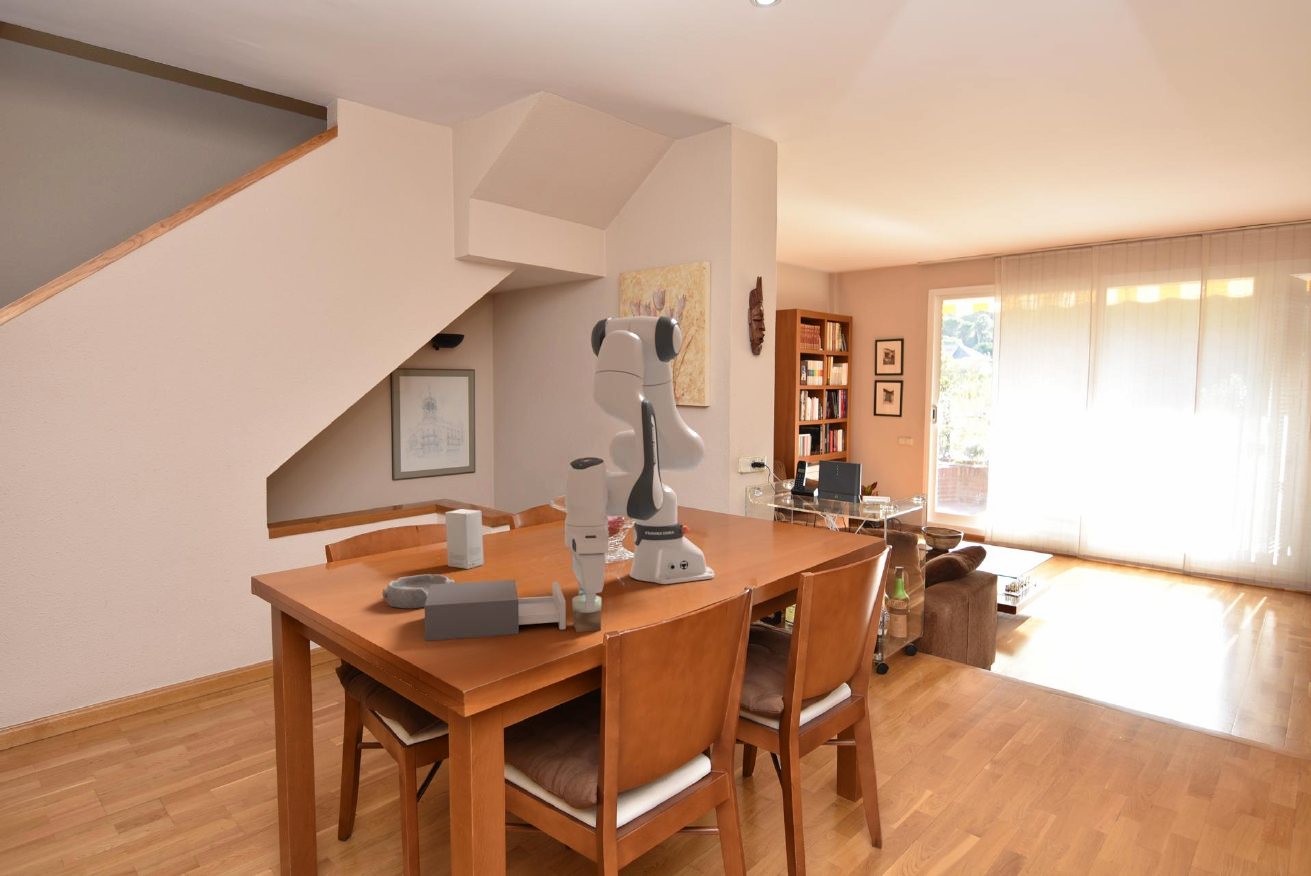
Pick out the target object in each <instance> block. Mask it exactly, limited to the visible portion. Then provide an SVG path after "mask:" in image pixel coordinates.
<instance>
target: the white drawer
mask: <svg viewBox="0 0 1311 876" xmlns="http://www.w3.org/2000/svg"><path fill="white" fill-rule="evenodd" d="M566 602H567V601H566V599H565V596H564V594H563V591H562V589H561V586H560V584H559V582H558V581H553V582H552V595H549V596H548V595H547V596H534V597H533V596H532V597H518V616H519V626H520V625H535V624H546V623H547V624H548V623H557V625H558V629H559V630H566V629H567V628H566V623H567V622H566V621H567V620H566V616H567V615H566V614H567V610H566V609H567V607H566Z"/></svg>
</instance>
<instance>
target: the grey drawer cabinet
mask: <svg viewBox="0 0 1311 876" xmlns="http://www.w3.org/2000/svg"><path fill="white" fill-rule="evenodd" d="M518 598H519V596H518V589H517V584H516V580H515V579H506V580H505V579H504V580H502V579H501V580H485V581H469V582H467V581H466V582H454V583H448V584H430V588H429V592H428V595H427V599H426V602H425V607H424V639H425V640H424V641H425V642H426V641H427V642H428V641H441V640H451V639H452V640H453V639H467V638H470V639H471V638H481V637H483V638H484V637H495V636H507V635H519V633H520V631H519V626H520V625H519V616H518Z"/></svg>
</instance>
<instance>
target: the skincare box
mask: <svg viewBox="0 0 1311 876" xmlns="http://www.w3.org/2000/svg"><path fill="white" fill-rule="evenodd" d="M444 514H445V530H446V531H445V533H446V552H447V566H448V567H453V568H459V569H465V570H469V569H473V568H477V567H480V566H484V544H483V543H484V541H483V540H484V539H483V522H482V521H483V519H482V510H475V509H463V508H461V509H455V510H451V511H446V512H444Z"/></svg>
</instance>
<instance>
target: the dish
mask: <svg viewBox="0 0 1311 876" xmlns="http://www.w3.org/2000/svg"><path fill="white" fill-rule="evenodd" d="M448 583H455V580H454V579H450V578H449V577H447V576H445V575H442V574H436V573H435V574H429V573H428V574H419V575H418V574H417V575H412V576H403V577H398V578H397V579H396V580H391V581H390V582H389V583H388V584H387V587H384V588H383V589H382V597H383V599H385V600H386V603H387V605H389V606H390V607H392V608H400V609H419V608H421V609H422V608H425V602H426V599H427V595H428V592H429V588H430V584H448Z"/></svg>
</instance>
